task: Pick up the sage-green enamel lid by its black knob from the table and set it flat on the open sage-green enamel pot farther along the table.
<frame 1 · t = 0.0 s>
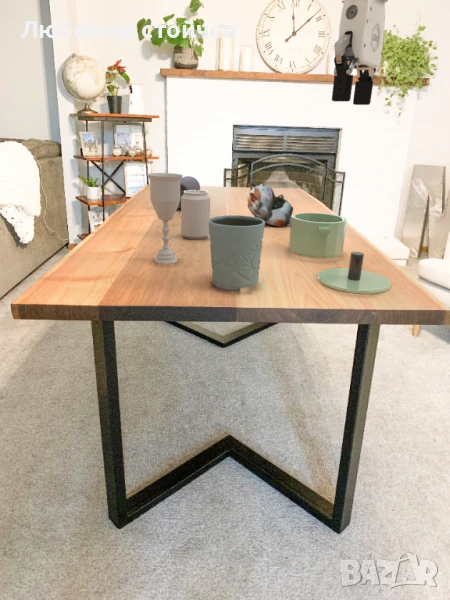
hand: (351, 103, 80), 32 cm above the table, tool pointing down, fingers open, 9 cm apart
green ceramic cup: (233, 284, 84), on the table
lucky cat figurine: (269, 224, 137), on the table
pot: (314, 252, 106), on the table
can: (195, 237, 117), on the table
chalice: (166, 261, 96), on the table
lid: (353, 281, 85), point 1 cm above the table
bluetooth speaker: (183, 206, 161), on the table
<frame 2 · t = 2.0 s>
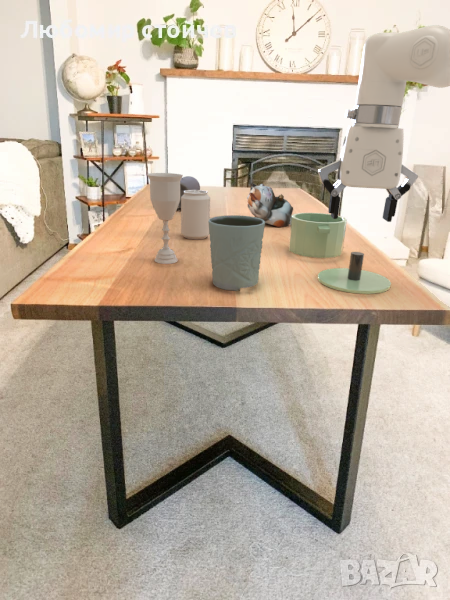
hand: (360, 218, 81), 13 cm above the table, tool pointing down, fingers open, 9 cm apart
nothing on the table moved.
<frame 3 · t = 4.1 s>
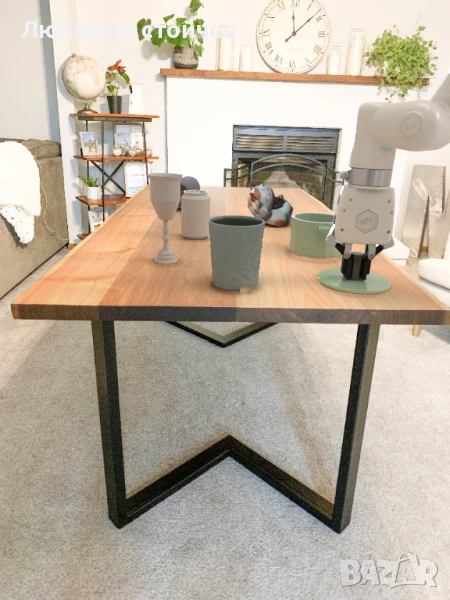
hand: (354, 276, 85), 2 cm above the table, tool pointing down, fingers closed on lid, 2 cm apart
lid: (353, 281, 85), point 1 cm above the table, touching gripper
everything else where it was.
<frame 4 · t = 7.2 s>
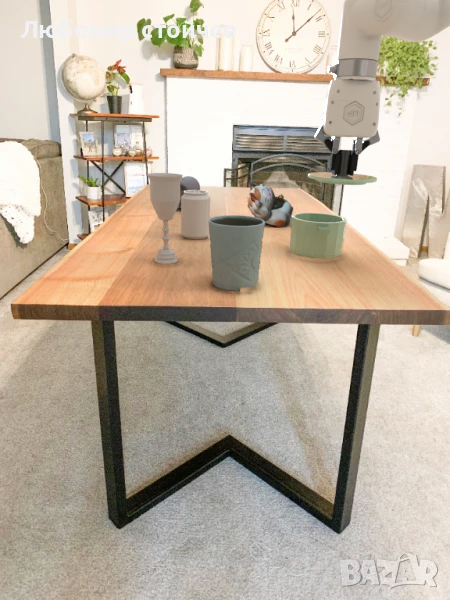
hand: (342, 173, 89), 19 cm above the table, tool pointing down, fingers closed on lid, 2 cm apart
lid: (341, 178, 90), point 18 cm above the table, touching gripper
everything else where it was.
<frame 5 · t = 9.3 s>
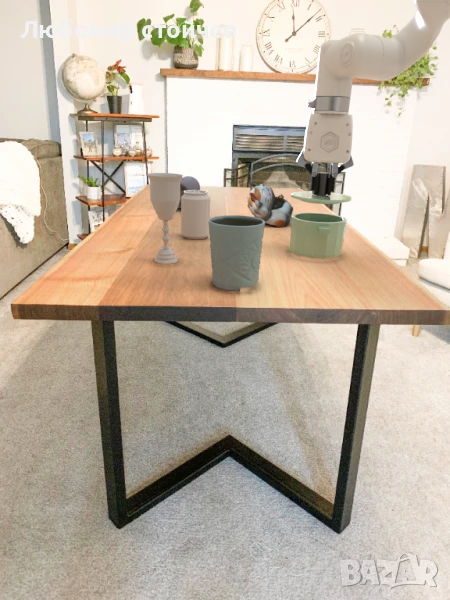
hand: (321, 193, 101), 14 cm above the table, tool pointing down, fingers closed on lid, 2 cm apart
lid: (320, 197, 102), point 13 cm above the table, touching gripper
everything else where it was.
when the fingers open (9 cm above the table, at t = 10.6 s): lid stays where it is, resting on pot.
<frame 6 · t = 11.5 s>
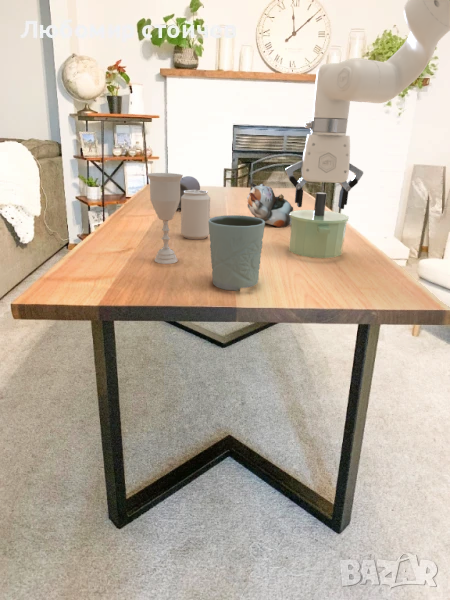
hand: (320, 207, 102), 11 cm above the table, tool pointing down, fingers open, 9 cm apart
lid: (318, 217, 103), point 8 cm above the table, touching pot
everything else where it was.
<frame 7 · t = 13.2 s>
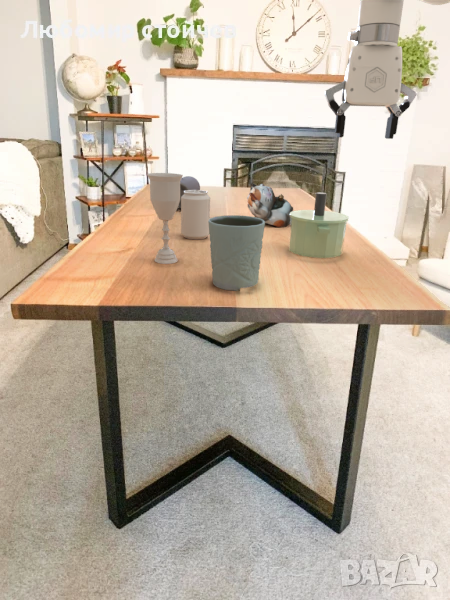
hand: (364, 137, 88), 26 cm above the table, tool pointing down, fingers open, 9 cm apart
nothing on the table moved.
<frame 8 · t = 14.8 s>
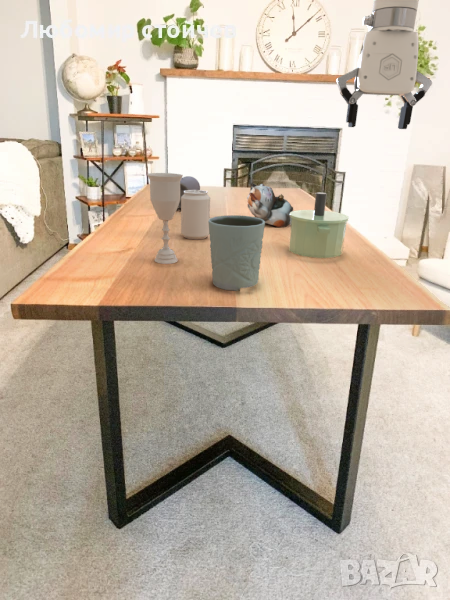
hand: (376, 127, 85), 28 cm above the table, tool pointing down, fingers open, 9 cm apart
nothing on the table moved.
at the end: lid 0.0 cm off-centre on the pot, point 8.5 cm above the pot's base; lid tilted 0° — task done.
